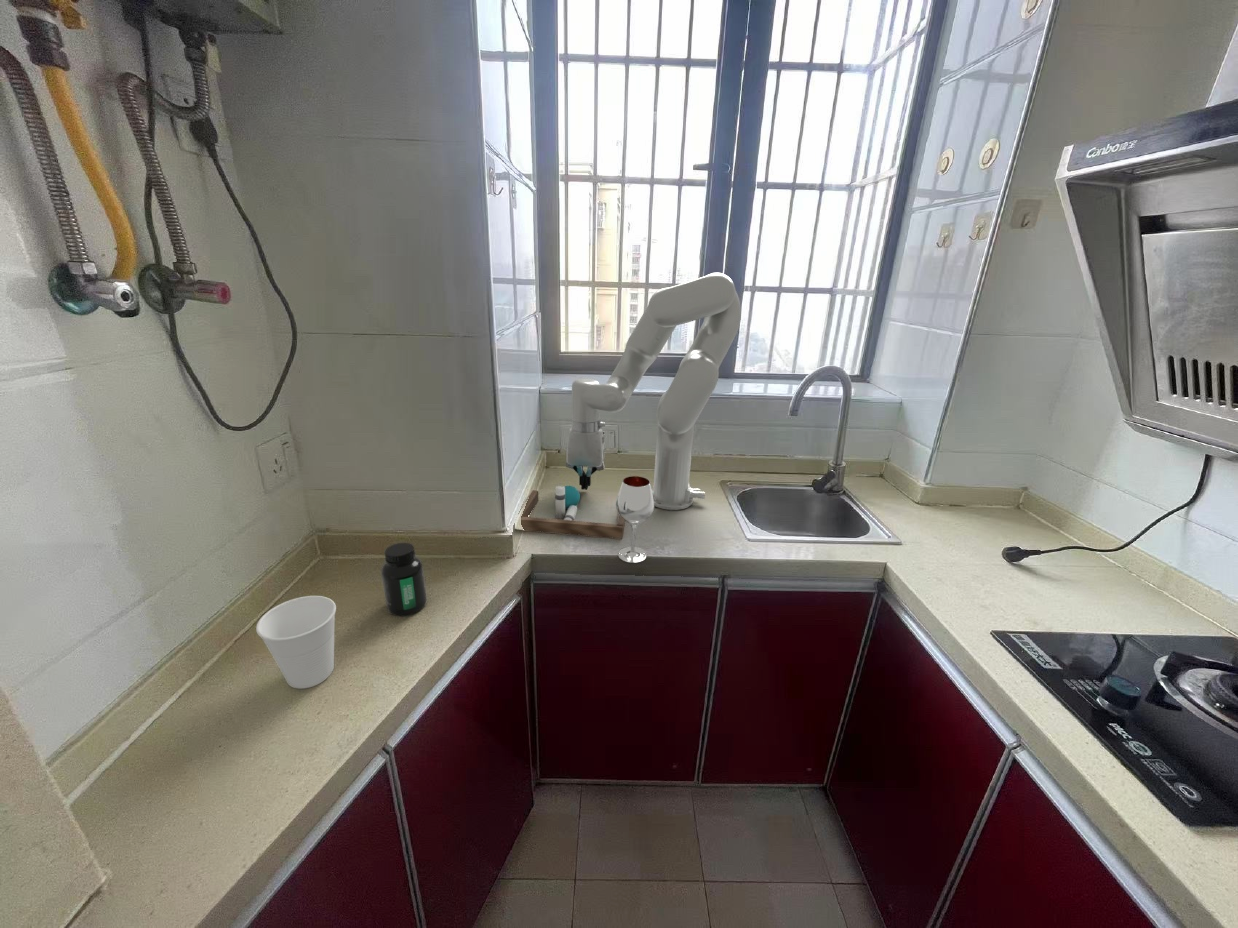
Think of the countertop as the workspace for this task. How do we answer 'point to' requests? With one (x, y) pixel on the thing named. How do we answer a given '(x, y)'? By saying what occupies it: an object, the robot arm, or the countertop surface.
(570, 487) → the ball
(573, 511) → the pin
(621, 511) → the wineglass
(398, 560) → the supplement bottle
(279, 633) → the cup
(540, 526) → the wooden u-shaped frame
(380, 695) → the countertop surface
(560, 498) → the pin
